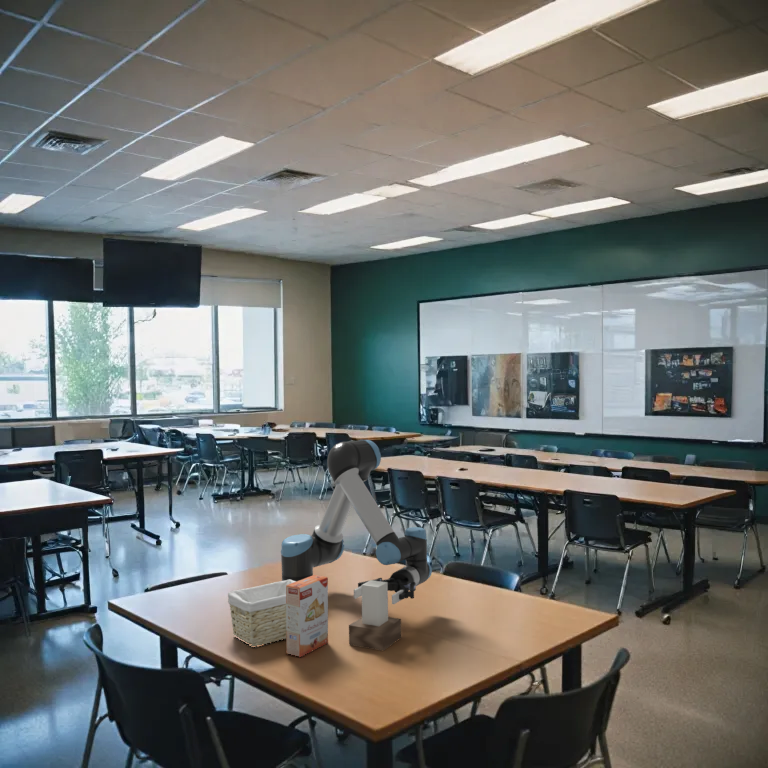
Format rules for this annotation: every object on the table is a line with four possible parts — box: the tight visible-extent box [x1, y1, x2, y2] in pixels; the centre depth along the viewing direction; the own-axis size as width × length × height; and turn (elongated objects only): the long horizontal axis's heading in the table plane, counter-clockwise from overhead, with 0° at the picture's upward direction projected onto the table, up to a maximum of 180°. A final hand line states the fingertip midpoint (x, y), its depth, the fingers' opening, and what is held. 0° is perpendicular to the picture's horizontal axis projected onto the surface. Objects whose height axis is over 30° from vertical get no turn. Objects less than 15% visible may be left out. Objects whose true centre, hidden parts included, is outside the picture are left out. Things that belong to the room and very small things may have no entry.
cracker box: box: [285, 574, 329, 658], centre depth 216 cm, size 14×6×21 cm, turn 148°
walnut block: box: [348, 616, 402, 652], centre depth 221 cm, size 12×12×6 cm
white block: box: [361, 579, 389, 626], centre depth 221 cm, size 6×6×12 cm
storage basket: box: [227, 579, 296, 646], centre depth 229 cm, size 24×16×15 cm
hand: (373, 597), depth 220 cm, fingers open, 13 cm apart
